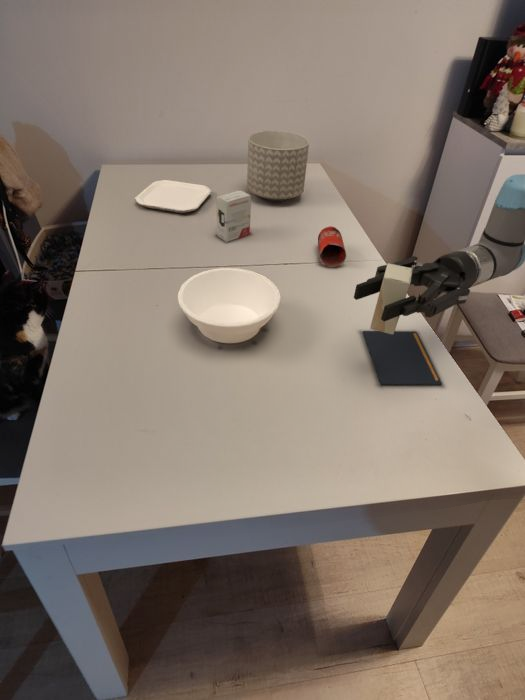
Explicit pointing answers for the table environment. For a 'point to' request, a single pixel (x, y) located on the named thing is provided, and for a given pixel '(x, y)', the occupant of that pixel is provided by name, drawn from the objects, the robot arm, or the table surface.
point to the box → (391, 295)
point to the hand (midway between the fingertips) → (370, 302)
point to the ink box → (233, 215)
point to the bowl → (229, 303)
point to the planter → (277, 164)
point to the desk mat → (400, 358)
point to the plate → (173, 196)
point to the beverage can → (331, 247)
